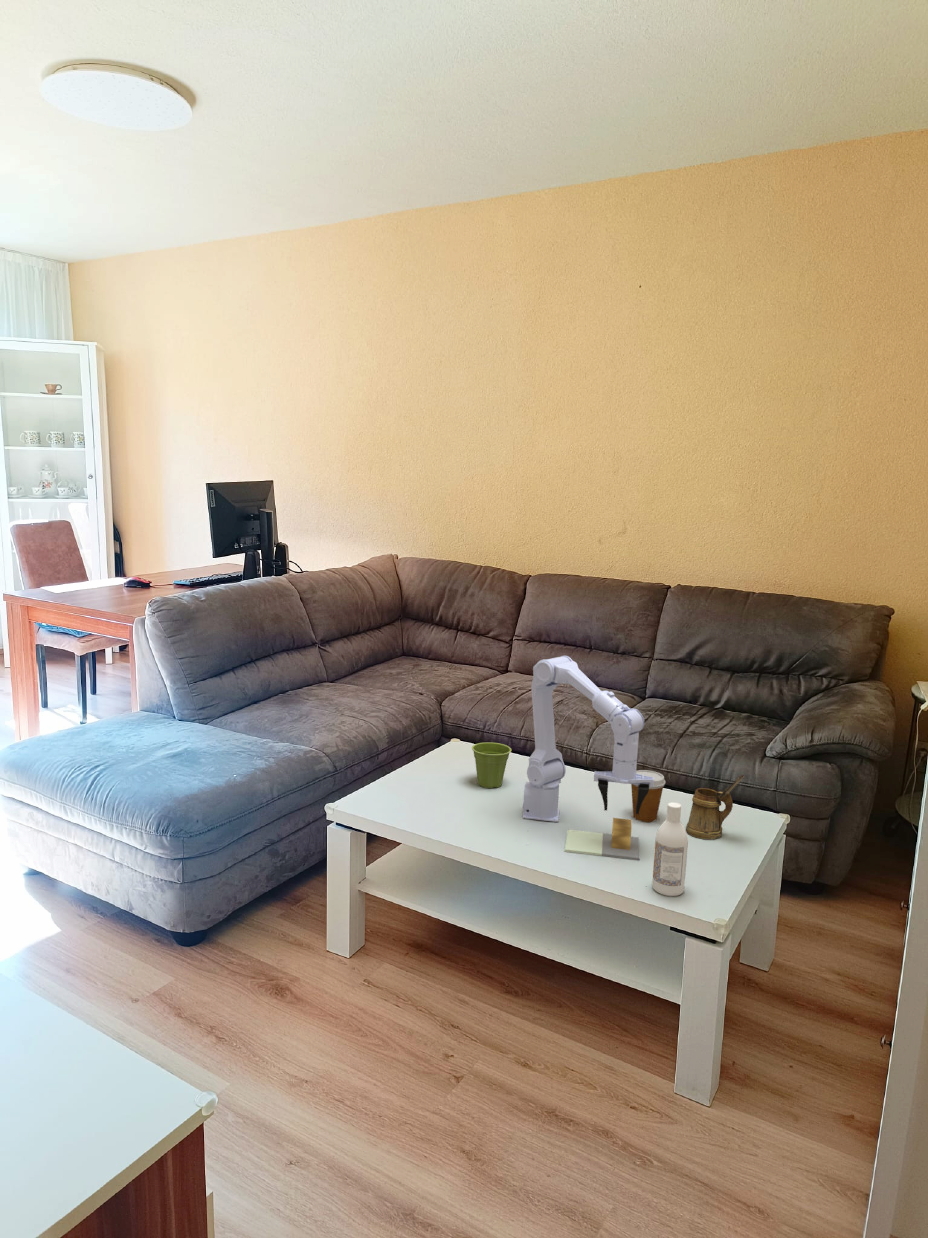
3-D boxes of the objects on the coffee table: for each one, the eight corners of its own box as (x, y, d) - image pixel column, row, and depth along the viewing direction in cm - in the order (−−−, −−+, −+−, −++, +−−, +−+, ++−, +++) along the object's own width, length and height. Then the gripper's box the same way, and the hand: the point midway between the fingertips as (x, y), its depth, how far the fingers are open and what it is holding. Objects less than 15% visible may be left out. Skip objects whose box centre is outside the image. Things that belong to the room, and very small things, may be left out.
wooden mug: (732, 848, 202) (739, 780, 199) (680, 833, 210) (686, 767, 207) (743, 836, 209) (749, 770, 206) (692, 822, 217) (697, 759, 214)
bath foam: (660, 878, 185) (667, 796, 181) (689, 889, 180) (696, 804, 177) (646, 889, 179) (652, 804, 176) (675, 900, 175) (682, 813, 172)
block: (611, 847, 198) (612, 825, 198) (611, 840, 203) (613, 817, 202) (629, 850, 198) (631, 827, 197) (629, 842, 202) (631, 819, 201)
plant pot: (510, 792, 234) (512, 755, 233) (470, 791, 234) (471, 754, 233) (509, 778, 246) (510, 742, 244) (470, 776, 246) (471, 741, 244)
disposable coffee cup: (663, 826, 214) (666, 783, 212) (627, 822, 216) (629, 779, 214) (661, 812, 223) (665, 771, 221) (627, 809, 225) (629, 768, 223)
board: (564, 851, 197) (564, 849, 197) (567, 831, 208) (567, 829, 208) (639, 860, 194) (639, 858, 193) (638, 839, 205) (638, 837, 205)
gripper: (594, 760, 195) (591, 813, 197) (655, 766, 192) (651, 820, 194) (595, 751, 202) (592, 803, 204) (654, 757, 199) (650, 809, 201)
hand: (621, 810), depth 200 cm, fingers open, 7 cm apart
